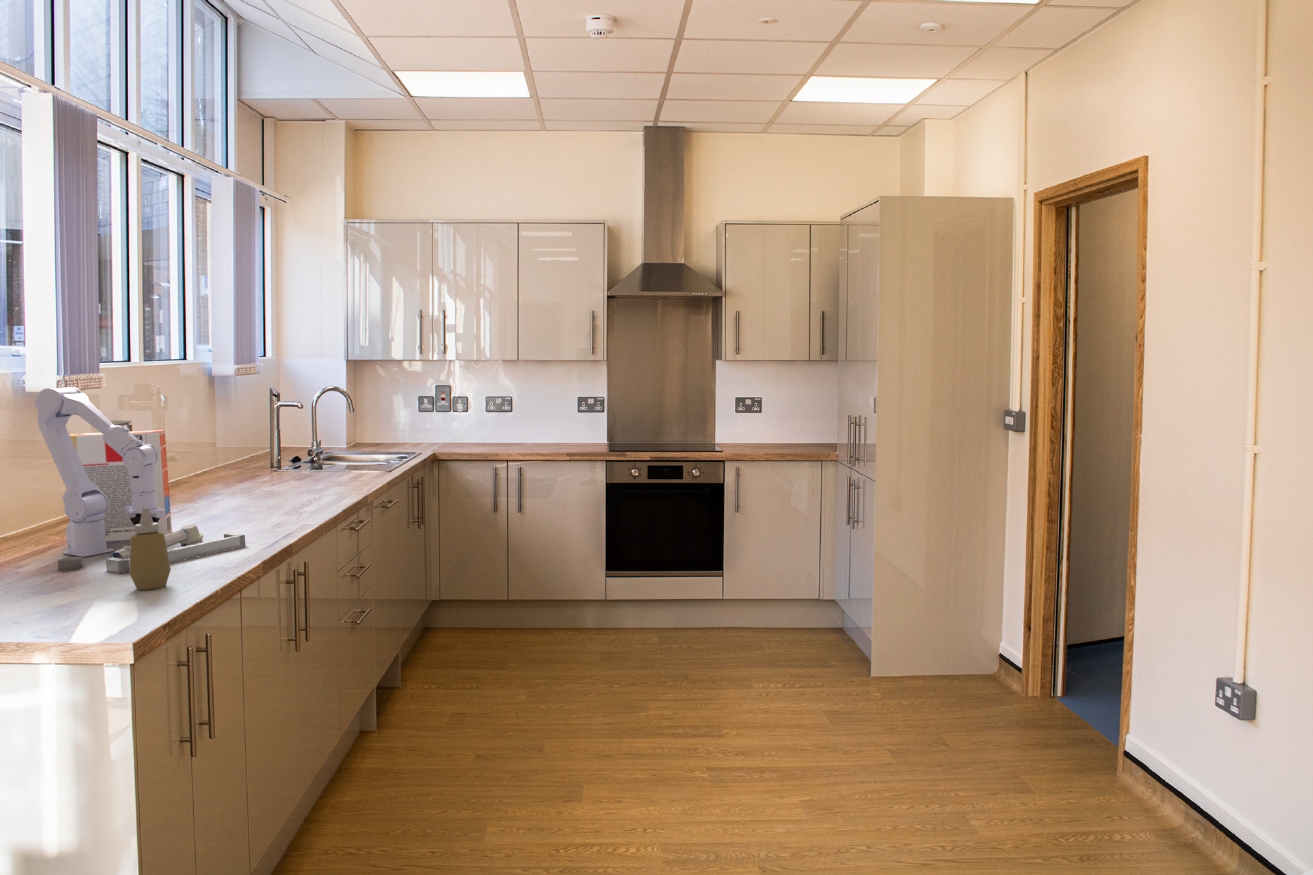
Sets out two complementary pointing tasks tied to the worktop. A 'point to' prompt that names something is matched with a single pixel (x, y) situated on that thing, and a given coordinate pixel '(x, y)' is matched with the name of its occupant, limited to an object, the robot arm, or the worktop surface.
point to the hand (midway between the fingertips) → (147, 542)
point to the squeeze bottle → (148, 555)
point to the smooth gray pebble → (70, 563)
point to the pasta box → (122, 480)
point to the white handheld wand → (169, 540)
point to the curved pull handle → (184, 552)
